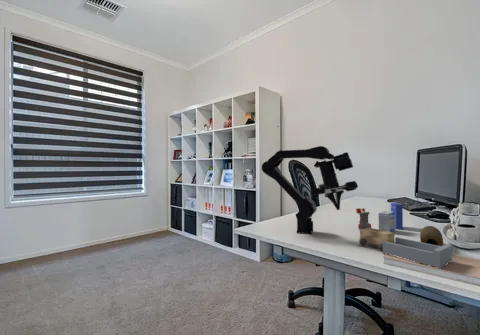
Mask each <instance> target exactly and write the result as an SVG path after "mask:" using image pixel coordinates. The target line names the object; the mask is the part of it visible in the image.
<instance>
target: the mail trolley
mask: <svg viewBox="0 0 480 335" xmlns="http://www.w3.org/2000/svg"><path fill="white" fill-rule="evenodd" d="M358 215H359V221H360V230H359V241H358V242H359V245H362V246H361V247H363V246H366V245H367V244H368V243H372V244H376V245H379V246H378V249H379V250H382V251H383V241H386V242H390V243H395V231H393V232H388V231H383V230H379V228H372V227H371V228H368V223H369V215H370V212H369V211H365V212H364V213H360V214H358ZM367 242H368V243H367ZM372 244H371V245H372ZM376 245H375V246H376ZM382 251H381V252H382Z"/></svg>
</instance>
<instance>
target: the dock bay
mask: <svg viewBox="0 0 480 335" xmlns="http://www.w3.org/2000/svg"><path fill="white" fill-rule="evenodd" d="M394 240H395V243H390V242H386V241H383V251H382V250H380V248H375V247H370V246H366V245H364V246H362V245H361V244H359V246H360V247H362V248H363V247H364V248H367V249H371V250H375V251H379V252H382V254H383V255H386V253H387V254H391V255H396V256H399V257H402V258H406V259H409V260H412V261H415V262H414V263H416V262H419V263H418V264H420V263H423V264H427V265H430V266H429V267H431V266H434V267H438V268H441V267H442V268H444V267H445V266H444V265H446V264H447V263H449V262H450V261H452V262H453V245H452V244H447V243H446V244H443V246H437V245H432V244H427V243H422V242H421V241H416V240H412V239H408V238H407V239H406V238H403V237H394ZM367 244H369V245H373V246H376V247H379V245H376V244H372V243H368V242H367ZM412 261H411V262H412ZM423 264H422V265H423ZM449 264H450V263H449ZM427 265H426V266H427ZM447 265H448V264H447ZM447 265H446V266H447ZM443 266H444V267H443ZM434 267H433V268H434ZM438 268H437V269H438ZM442 268H441V269H442Z"/></svg>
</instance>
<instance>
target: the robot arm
mask: <svg viewBox="0 0 480 335" xmlns="http://www.w3.org/2000/svg"><path fill="white" fill-rule="evenodd" d="M305 158H306V159H315V160H316V161H315V163H314V164H313V166H314V168H316V169H317V168H319V171H320V175H321V178H322V181H323V183H322V184H321V183H320V184H318V187H316V188H312V189H310V190H309V195H307V196H305V195H303V194H302V193H301V192H300V191H299V190H298V189H297V187H295V186H294V185H293V184H292V183H291V182H290V180H288V178H287V177H285V175H283V173H282V172H281V169H280V168H279V166H280V165H281V164H282V162H283V161H284V160H285V159H305ZM318 160H320V161H318ZM321 160H322V161H321ZM351 168H354V165H353V161H352V159H351V158H350V155H349V152H348V151H346V152H343V153H340V154H338V155H334V154H332V153H331V152H330V150H329V148H328V147H326V146H324V145H323V146H322V145H319V146H314V147H311V148H307V149H293V150H292V149H289V150H288V149H287V150H285V149H284V150H281V149H280V150H277V151H276V152H275V154H273V155H272V156H271V157H270V158H269V159H268V160H267V161H264V162H262V165H261V171H262V172H263V173H264V175H267V177H269V178H271V179H273V180H274V181H275V182H276V183H277V184H278V185H279V186H280V187H281V188H282V189H283V190H284V192H285V193H287V195H288V196H290V198H291V199H292V200H293V201H294V202H295V204H296V207H297V209H298V210H299V211H298V212H297V213H296V214H295V217H296V224H297V225H296V233H297V234H313V232H314V221H312V216H313V215H314V214H315V213H316V212H317V205H316V201H314V200H313V199H315V198H319V196H320V195H324V198H327V199H328V200H329V201H331V203H332V204H333V206H334V207H335V209H336V211H339V210H341V199H342V198H341V197H342V195H343V194H344V193H345V192H351V191H356V189H357V188H358V187H359V185H358V183H357V181H355V180H352V181H348V182H345V183H344V184H343V185H340V184H339V181H338V177H337V174H336V171H335V170H338V171H339V172H341V171H344V170H348V169H351Z"/></svg>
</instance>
